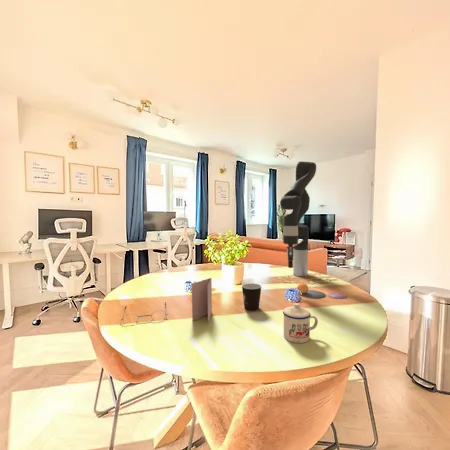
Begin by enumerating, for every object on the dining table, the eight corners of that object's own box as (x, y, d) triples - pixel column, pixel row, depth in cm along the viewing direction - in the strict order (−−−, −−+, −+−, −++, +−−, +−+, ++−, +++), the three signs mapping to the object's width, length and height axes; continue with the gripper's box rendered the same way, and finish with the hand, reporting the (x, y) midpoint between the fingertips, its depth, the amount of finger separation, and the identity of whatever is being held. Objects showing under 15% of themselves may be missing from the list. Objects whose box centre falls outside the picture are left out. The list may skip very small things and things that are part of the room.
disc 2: (326, 292, 136) (326, 292, 136) (344, 293, 134) (344, 293, 134) (329, 298, 128) (329, 297, 128) (348, 299, 125) (348, 299, 125)
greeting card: (210, 311, 112) (209, 277, 111) (223, 315, 107) (223, 280, 107) (190, 320, 103) (190, 283, 102) (204, 325, 99) (203, 286, 98)
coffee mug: (260, 312, 111) (260, 289, 110) (240, 311, 112) (240, 288, 112) (262, 302, 122) (262, 282, 121) (244, 301, 124) (244, 281, 123)
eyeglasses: (120, 325, 101) (120, 315, 100) (125, 309, 119) (125, 300, 119) (168, 319, 105) (167, 310, 105) (165, 304, 124) (165, 296, 123)
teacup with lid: (287, 344, 84) (288, 309, 83) (279, 331, 93) (279, 299, 92) (323, 342, 85) (323, 308, 84) (311, 330, 94) (312, 298, 93)
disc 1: (298, 289, 142) (298, 289, 142) (323, 291, 139) (323, 290, 139) (299, 297, 129) (299, 297, 129) (327, 299, 126) (327, 298, 126)
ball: (305, 281, 138) (309, 291, 136) (295, 284, 139) (299, 294, 137) (306, 281, 133) (310, 292, 131) (295, 284, 133) (299, 295, 132)
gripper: (298, 235, 127) (298, 270, 128) (297, 233, 140) (297, 265, 141) (282, 235, 129) (282, 270, 130) (283, 233, 142) (283, 264, 143)
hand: (290, 267), depth 136 cm, fingers closed
